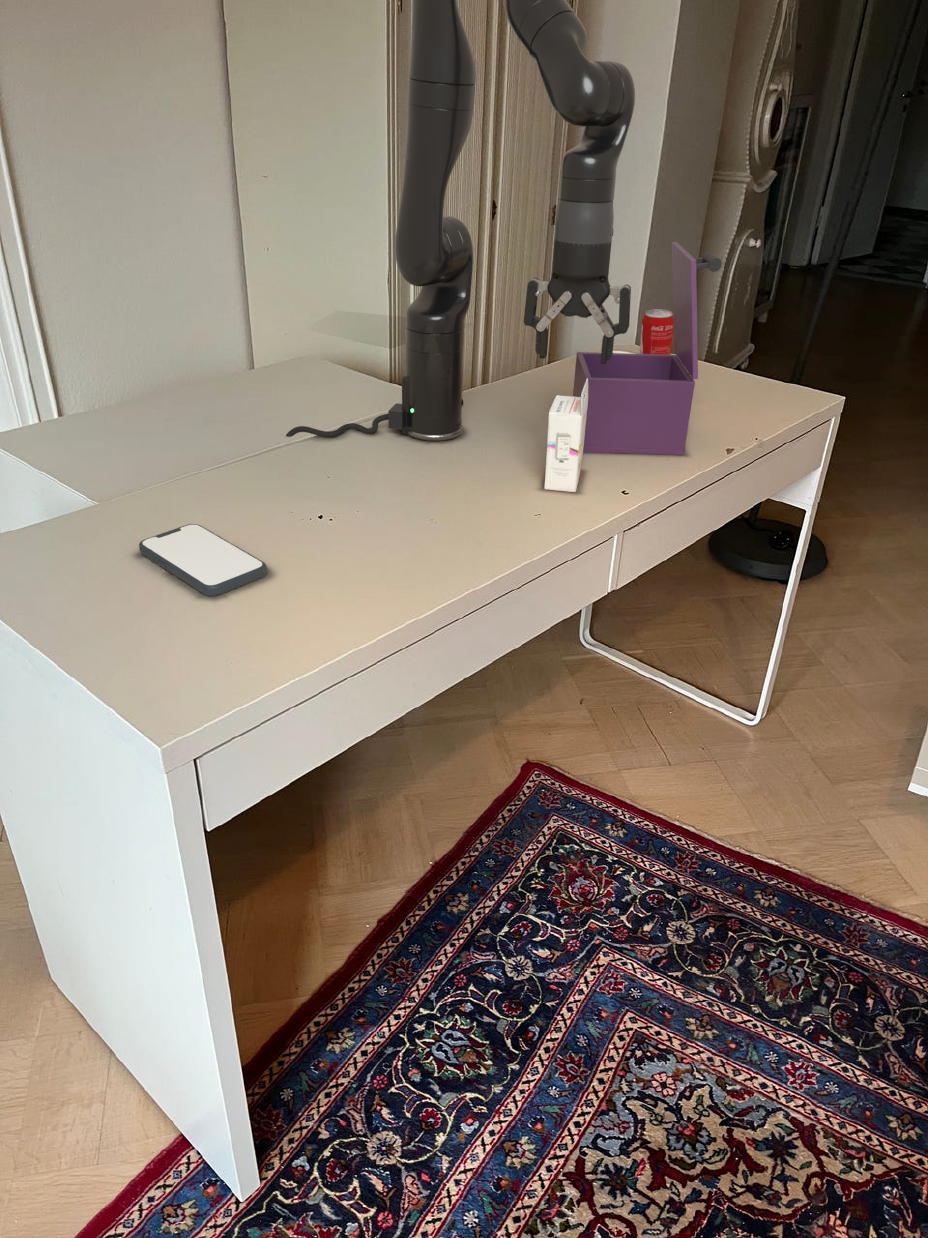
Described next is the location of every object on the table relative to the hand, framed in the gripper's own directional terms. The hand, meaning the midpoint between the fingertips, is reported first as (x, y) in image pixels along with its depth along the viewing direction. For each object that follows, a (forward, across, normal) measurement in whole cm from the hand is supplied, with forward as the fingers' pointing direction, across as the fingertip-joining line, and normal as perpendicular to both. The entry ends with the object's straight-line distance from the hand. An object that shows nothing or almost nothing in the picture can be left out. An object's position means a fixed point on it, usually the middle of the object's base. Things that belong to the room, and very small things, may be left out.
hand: (573, 359), depth 134 cm
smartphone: (+18, -38, -40) cm, 58 cm away
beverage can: (+18, +9, +48) cm, 52 cm away
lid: (-3, +13, +24) cm, 27 cm away
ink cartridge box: (+18, 0, 0) cm, 18 cm away
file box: (+18, +7, +22) cm, 29 cm away
